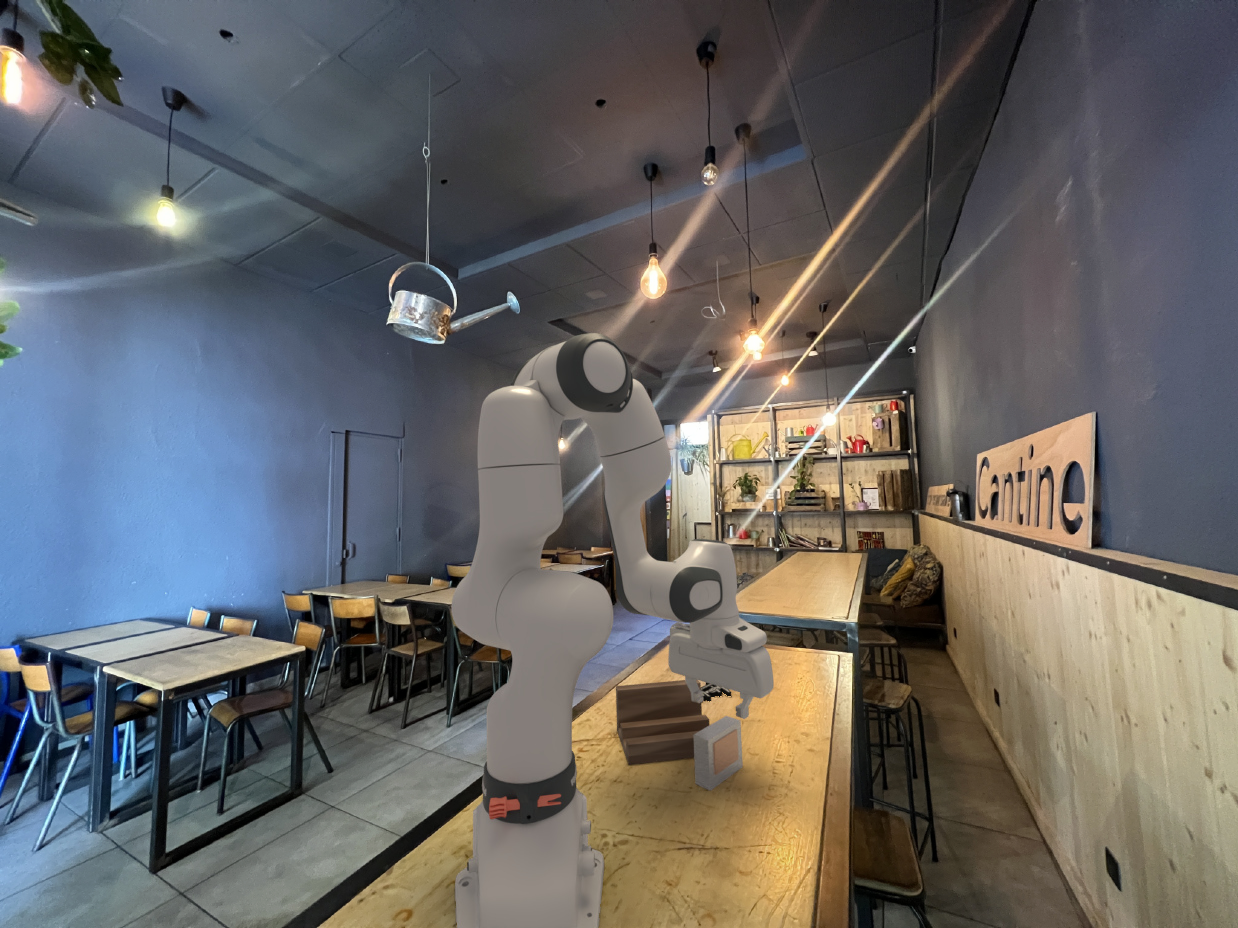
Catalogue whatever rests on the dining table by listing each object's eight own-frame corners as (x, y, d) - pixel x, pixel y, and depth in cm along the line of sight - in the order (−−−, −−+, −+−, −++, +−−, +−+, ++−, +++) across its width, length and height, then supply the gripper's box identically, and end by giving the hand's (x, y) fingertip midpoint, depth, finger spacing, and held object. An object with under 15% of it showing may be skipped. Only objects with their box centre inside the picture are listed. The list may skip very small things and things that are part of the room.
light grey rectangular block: (743, 767, 86) (741, 720, 86) (711, 791, 79) (708, 740, 80) (728, 760, 88) (726, 715, 89) (695, 783, 81) (693, 734, 82)
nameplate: (736, 665, 137) (768, 672, 130) (736, 670, 137) (768, 678, 129) (676, 693, 117) (710, 704, 110) (676, 699, 117) (710, 711, 110)
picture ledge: (722, 753, 90) (720, 704, 91) (628, 764, 88) (627, 713, 88) (698, 721, 104) (696, 678, 105) (616, 730, 101) (615, 685, 102)
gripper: (659, 623, 91) (663, 698, 90) (755, 644, 76) (761, 733, 75) (680, 617, 95) (683, 688, 95) (775, 635, 81) (780, 719, 80)
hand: (719, 708), depth 85 cm, fingers open, 8 cm apart
